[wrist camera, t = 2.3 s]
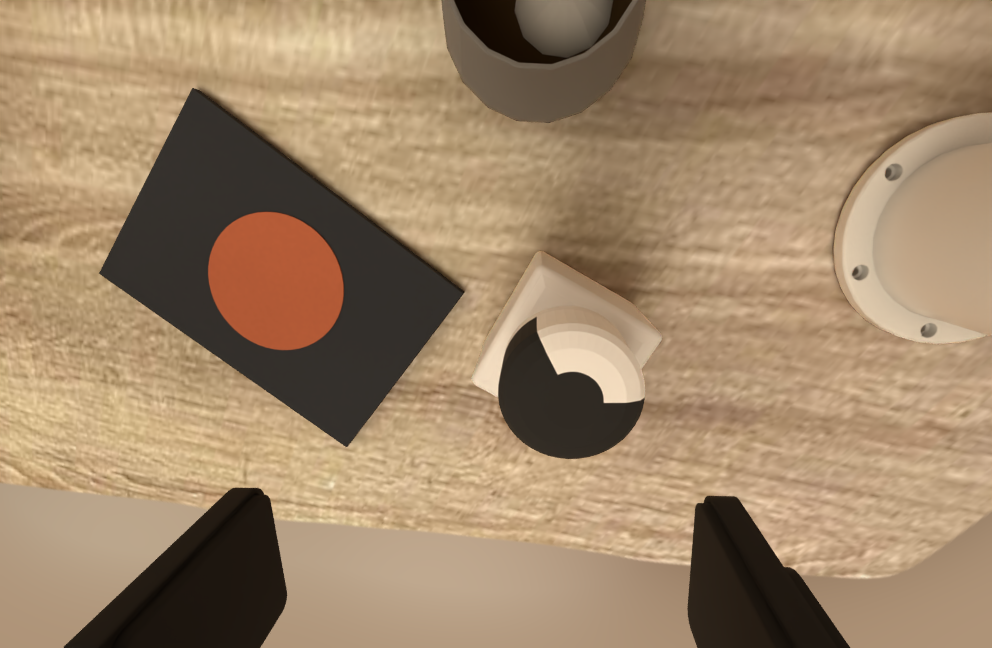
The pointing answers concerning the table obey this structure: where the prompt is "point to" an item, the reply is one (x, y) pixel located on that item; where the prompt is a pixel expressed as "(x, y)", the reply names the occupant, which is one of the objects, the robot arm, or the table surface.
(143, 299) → the mat
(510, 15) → the cup
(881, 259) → the robot arm
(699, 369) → the table surface
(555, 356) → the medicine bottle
